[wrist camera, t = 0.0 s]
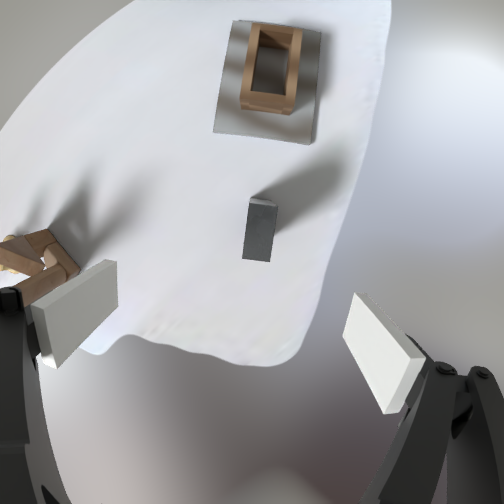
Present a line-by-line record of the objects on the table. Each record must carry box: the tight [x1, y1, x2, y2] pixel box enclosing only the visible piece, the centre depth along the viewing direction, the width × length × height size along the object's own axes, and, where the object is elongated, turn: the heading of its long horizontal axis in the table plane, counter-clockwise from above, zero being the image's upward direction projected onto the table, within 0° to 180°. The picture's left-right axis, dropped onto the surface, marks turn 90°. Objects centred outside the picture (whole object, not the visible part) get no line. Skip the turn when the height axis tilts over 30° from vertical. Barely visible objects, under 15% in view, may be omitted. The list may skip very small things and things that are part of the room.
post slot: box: [213, 21, 321, 145], centre depth 33 cm, size 20×14×6 cm
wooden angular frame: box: [0, 229, 81, 307], centre depth 34 cm, size 4×11×18 cm, turn 44°
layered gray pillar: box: [242, 198, 278, 262], centre depth 36 cm, size 6×3×12 cm, turn 173°
